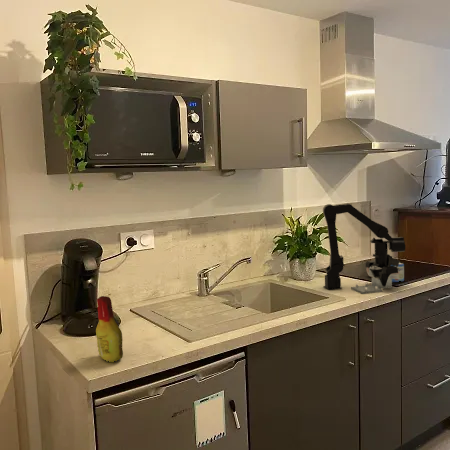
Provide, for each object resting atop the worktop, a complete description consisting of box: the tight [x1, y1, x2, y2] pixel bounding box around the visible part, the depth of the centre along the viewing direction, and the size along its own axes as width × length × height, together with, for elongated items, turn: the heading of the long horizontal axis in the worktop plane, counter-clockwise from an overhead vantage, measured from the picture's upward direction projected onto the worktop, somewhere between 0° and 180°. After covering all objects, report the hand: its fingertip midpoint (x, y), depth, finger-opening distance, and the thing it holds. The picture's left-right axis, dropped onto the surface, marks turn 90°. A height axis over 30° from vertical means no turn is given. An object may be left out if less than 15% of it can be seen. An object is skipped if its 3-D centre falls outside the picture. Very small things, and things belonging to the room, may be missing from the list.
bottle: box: [95, 295, 124, 363], centre depth 145 cm, size 12×6×20 cm, turn 38°
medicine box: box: [389, 262, 405, 283], centre depth 228 cm, size 8×4×9 cm, turn 102°
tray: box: [350, 282, 383, 295], centre depth 214 cm, size 10×10×2 cm
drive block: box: [371, 276, 393, 290], centre depth 218 cm, size 8×4×5 cm, turn 103°
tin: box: [365, 266, 374, 279], centre depth 235 cm, size 15×3×8 cm, turn 25°
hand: (381, 285), depth 218 cm, fingers closed on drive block, 4 cm apart
